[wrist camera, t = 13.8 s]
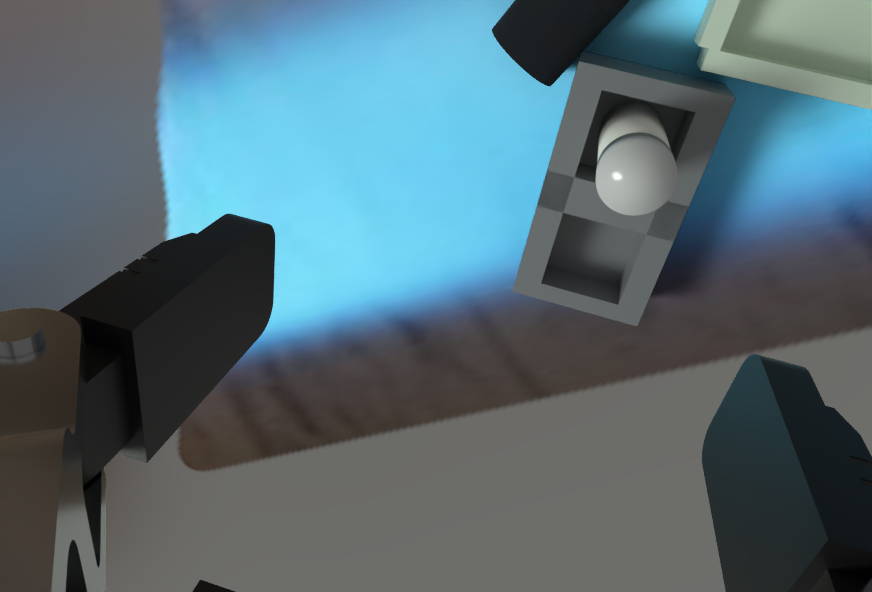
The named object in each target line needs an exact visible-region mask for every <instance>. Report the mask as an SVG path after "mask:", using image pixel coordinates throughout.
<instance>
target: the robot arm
mask: <svg viewBox="0 0 872 592" xmlns="http://www.w3.org/2000/svg"><path fill="white" fill-rule="evenodd" d="M274 260H275V233H274V229H273V227H272V226H271V225H270V224H267V223H263V222H259V221H256V220H252V219H248V218H244V217H240V216H237V215H233V214H225V215H224V216H222V217H221V218H219V219H218V220H216V221H215V222H213V223H212V224H211V225H209V226H208V227H206V228H205V229H203V230H202V231H201V232H199V233H198V234H195V233H190V234H187V235H183V236H180V237H177V238H174V239H171V240H167V241H164V242H162V243H160V244H159V245H158V246H156V247H154V248H153V249H151V250H150V251H148V252H147V253H145V254H144V255H142V256H141V259H140V260H139V259H136V260H135V261H133V262H132V263H130V264H129V265H127V266H126V267H124V270H123V272H121V271H118V272H117V273H115V274H114V275H112V276H111V277H109V278H108V279H107V280H105V281H103V282H102V283H100V284H99V285H97V286H96V287H94V288H93V289H91V290H90V291H88V292H87V293H85V294H84V295H82V296H81V297H79V298H78V299H76V300H75V301H73V302H72V303H70V304H69V305H67V306H65V307H64V308H62V309H61V310H60V311H56V310H52V309H46V308H20V309H12V310H7V311H1V312H0V592H105V523H106V522H105V521H106V478H105V471H104V466H105V465H106V464H107V463H108V462H109V461H110V460H111V459H112V458H113V457H114V456H115V455H116V454H117V453H118V454H121V455H124V456H128V457H131V458H134V459H137V460H140V461H143V462H146V463H147V462H148V461H149V460H150V459H151V458H152V457H153V456H154V454H155V453H156V452H157V451H158V450H159V449H160V448H161V447H162V446H163V444H164V443H165V442H166V441H167V440H168V439H169V438H170V436H171V435H172V434H173V433H174V432H175V431H176V430H177V429H178V428H179V426H180V425H181V424H182V423H183V422H184V421H185V420H186V419H187V418H188V416H189V415H190V414H191V413H192V412H193V411H194V410H195V409H196V407H197V406H198V405H199V404H200V403H201V402H202V401H203V400H204V398H205V397H206V396H207V395H208V394H209V393H210V392H211V391H212V390H213V388H214V387H215V386H216V385H217V384H218V383H219V382H220V381H221V379H222V378H223V377H224V376H225V375H226V374H227V373H228V372H229V370H230V369H231V368H232V367H233V366H234V365H235V364H236V363H237V361H238V360H239V359H240V358H241V357H242V356H243V355H244V354H245V353H246V351H247V350H248V349H249V348H250V347H251V346H252V345H253V344H254V342H255V341H256V340H257V339H258V338H259V337H260V336H261V334H262V333H263V331H264V330H265V328H266V326H267V324H268V321H269V319H270V315H271V312H272V307H273V292H274ZM702 464H703V470H704V476H705V481H706V487H707V492H708V497H709V503H710V508H711V514H712V519H713V524H714V530H715V535H716V541H717V546H718V551H719V557H720V562H721V568H722V573H723V578H724V584H725V590H726V592H872V456H871V455H870V453H869V451H868V449H867V447H866V445H865V443H864V441H863V439H862V437H861V435H859V433H858V432H857V431H856V430H855V429H854V428H853V427H852V426H851V425H850V424H849V423H848V422H847V421H846V420H845V419H844V418H843V417H842V416H841V415H840V414H839V413H838V412H837V411H836V410H835V409H834V408H831V407H828V406H825V404H824V402H823V400H822V398H821V396H820V394H819V392H818V390H817V387H816V385H815V383H814V381H813V379H812V377H811V375H810V373H809V371H808V370H807V369H806V368H804V367H802V366H798V365H794V364H790V363H786V362H783V361H779V360H775V359H771V358H767V357H764V356H760V355H756V354H753V355H751V356H749V357H748V358H747V359H746V360H745V361H744V363H743V365H742V366H741V368H740V370H739V371H738V373H737V375H736V377H735V379H734V381H733V383H732V384H731V386H730V388H729V390H728V392H727V394H726V396H725V398H724V399H723V401H722V403H721V405H720V407H719V409H718V410H717V413H716V414H715V416H714V418H713V420H712V422H711V424H710V426H709V428H708V430H707V433H706V436H705V440H704V444H703V451H702ZM193 592H235V591H231V590H229V589H226V588H223V587H220V586H217V585H214V584H211V583H208V582H206V581H203V580H200V581H199V583H198V584H197V586H196V587H195V589H194V590H193Z"/></svg>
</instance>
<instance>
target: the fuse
mask: <svg viewBox="0 0 872 592" xmlns="http://www.w3.org/2000/svg"><path fill="white" fill-rule="evenodd" d="M677 180H678V171H677V166H676V162H675V159H674V156H673V153H672V151H671V149H670V146H669V142H668V139H667V136H666V132H665V129H664V125H663V122H662V119H661V117H660V115H659V114H658V112H657V111H656V110H655V109H654V108H652V107H651V106H649V105H647V104H645V103H641V102H627V103H623V104H620V105H618V106H616V107H615V108H613V109H612V110H611V111H610V112H609V113H608V114H607V115H606V116H605V117H604V119H603V121H602V123H601V125H600V129H599V141H598V161H597V167H596V188H597V192H598V194H599V196H600V198H601V200H602V201H603V202H604V203H605V204H606V205H607V206H608V207H609V208H610V209H612V210H614V211H616V212H618V213H621V214H624V215H631V216H636V215H644V214H647V213H650V212H653V211H655V210H656V209H658V208H660V207H661V206H662V205H664V204H665V203H666V202H667V201H668V200H669V198H670V197H671V195H672V194H673V192H674V190H675V188H676V185H677Z"/></svg>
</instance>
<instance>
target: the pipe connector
mask: <svg viewBox="0 0 872 592" xmlns="http://www.w3.org/2000/svg"><path fill="white" fill-rule="evenodd" d="M629 1H630V0H515V1H514V3H513V4H512V5H511V6H510V8H509V9H508V10H507V11H506V12H505V14H504V15H503V16H502V17H501V19H500V20H499V21H498V22H497V24H496V25H495V26H494V27H493V29H492V32H493V34H494V36H495V38H496V40H497V41H498V42H499V44H500V45H501V46H502V48H503V49H504V50H505V51H506V52H507V53H508V55H509V56H510V57H511V58H512V59H513V60H514V61H515V62H516V63H517V64H518V65H519V66H520V67H522V68H523V69H524V70H525V71H526V72H527V73H528V74H530V75H531V76H532V77H534V78H535V79H536V80H538V81H539V82H541V83H543V84H544V85H547V86H551V85H552V84H553V83H554V82H555V81H556V80H557V79H558V78H559V77H560V76H561V75H562V73H563V72H564V71H565V70H566V69H567V68H568V67H569V66H570V65H571V64H572V63H573V62H574V60H575V59H576V58H577V57H578V56H579V55H580V54H581V53H582V52H583V51H584V50H585V49H586V48H587V46H588V45H589V44H590V43H591V42H592V41H593V40H594V39H595V38H596V37H597V36H598V35H599V33H600V32H601V31H602V30H603V29H604V28H605V27H606V26H607V25H608V24H609V23H610V22H611V21H612V19H613V18H614V17H615V16H616V15H617V14H618V13H619V12H620V11H621V10H622V9H623V8H624V6H625V5H626V4H627V3H628V2H629Z"/></svg>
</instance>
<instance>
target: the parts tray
mask: <svg viewBox="0 0 872 592" xmlns="http://www.w3.org/2000/svg"><path fill="white" fill-rule="evenodd" d="M694 41H695V42H696V44H697V45H698V46H700V47H702V48H701V50H700V53H699V56H698V58H697V61H696V64H697V65H698V67H699V68H700V70H702V71H707V72H711V73H715V74H720V75H724V76H728V77H733V78H737V79H741V80H746V81H750V82H754V83H759V84H763V85H767V86H772V87H776V88H780V89H785V90H789V91H793V92H798V93H802V94H806V95H810V96H815V97H819V98H823V99H828V100H832V101H836V102H841V103H845V104H849V105H854V106H858V107H862V108H867V109H871V110H872V0H709V1H708V4H707V6H706V9H705V12H704V14H703V17H702V19H701V22H700V25H699V27H698V30H697V33H696V35H695V38H694Z"/></svg>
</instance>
